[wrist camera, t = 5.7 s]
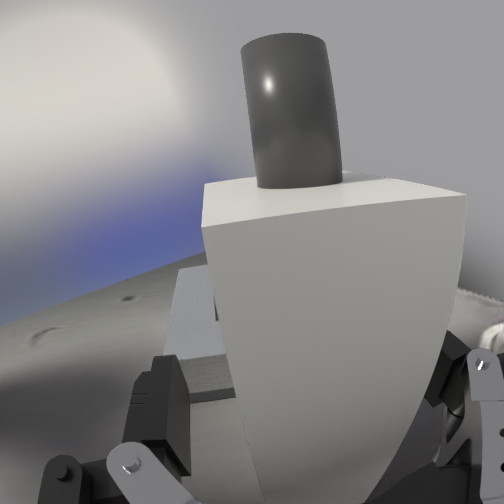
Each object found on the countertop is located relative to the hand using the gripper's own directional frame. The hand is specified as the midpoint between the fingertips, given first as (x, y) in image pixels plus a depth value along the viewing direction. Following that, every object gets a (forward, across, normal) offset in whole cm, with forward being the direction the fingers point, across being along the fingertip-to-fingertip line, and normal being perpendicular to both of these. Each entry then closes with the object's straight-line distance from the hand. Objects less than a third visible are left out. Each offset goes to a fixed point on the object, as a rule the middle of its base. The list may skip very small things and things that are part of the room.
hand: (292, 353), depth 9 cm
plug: (-2, 0, +8) cm, 8 cm away
